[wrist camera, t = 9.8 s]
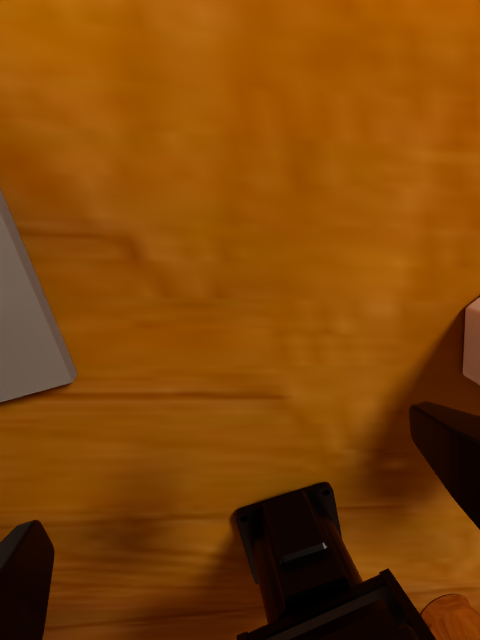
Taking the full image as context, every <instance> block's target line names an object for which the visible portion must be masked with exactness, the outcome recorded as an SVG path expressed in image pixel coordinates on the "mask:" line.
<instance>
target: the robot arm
mask: <svg viewBox="0 0 480 640" xmlns="http://www.w3.org/2000/svg"><path fill="white" fill-rule="evenodd" d="M409 420H410V432H411V436H412V439H413V441H414V443H415V444H416V446H417V447H418V449H419V450H420V452H421V453H422V455H423V456H424V457H425V459H426V460H427V462H428V463H429V465H430V466H431V467H432V469H433V470H434V472H435V473H436V475H437V476H438V478H439V479H440V480H441V482H442V483H443V485H444V486H445V488H446V489H447V490H448V492H449V493H450V494H451V496H452V497H453V498H454V500H455V501H456V502H457V503H458V505H459V506H460V507H461V508H462V509H463V510H464V512H465V513H466V514H467V515H468V516H469V518H470V519H471V520H472V521H473V522H474V523H475V525H476V526H477V527H478V528H479V529H480V417H479V416H476V415H473V414H469V413H466V412H462V411H459V410H455V409H452V408H449V407H445V406H442V405H438V404H435V403H431V402H428V401H423V402H419V403H416V404H413V405H411V406H410V407H409ZM324 490H326V491H324ZM323 491H324V492H323ZM242 516H245V517H242ZM235 517H236V522H237V525H238V528H239V532H240V535H241V538H242V541H243V545H244V548H245V551H246V555H247V558H248V561H249V564H250V568H251V571H252V574H253V578H254V581H255V583H256V584H259V586H260V590H261V595H262V599H263V604H264V608H265V613H266V617H267V622H268V624H267V625H265V626H262V627H260V628H258V629H256V630H253V631H251V632H249V633H248V632H247V631H246V632H244V633H241V634H239V635H237V640H436V638H435V637H434V635H433V633H432V632H431V630H430V629H429V627H428V626H427V624H426V623H425V621H424V620H423V618H422V617H421V616H420V614H419V613H418V611H417V610H416V608H415V607H414V605H413V604H412V602H411V601H410V599H409V598H408V596H407V595H406V593H405V592H404V591H403V589H402V588H401V586H400V585H399V583H398V582H397V580H396V579H395V577H394V576H393V574H392V573H391V571H390V570H389V569H386V570H383V571H381V572H379V575H377V576H375V577H373V578H370V579H368V580H366V581H364V582H363V581H362V579H361V577H360V575H359V573H358V571H357V569H356V567H355V565H354V563H353V561H352V559H351V557H350V555H349V553H348V551H347V549H346V547H345V545H344V543H343V540H342V536H341V531H340V525H339V520H338V514H337V509H336V503H335V498H334V493H333V489H332V487H331V485H330V484H329V483H327V482H322V483H319V484H316V485H313V486H310V487H307V488H303V489H300V490H297V491H294V492H291V493H288V494H285V495H281V496H278V497H275V498H272V499H269V500H266V501H263V502H259V503H256V504H253V505H250V506H247V507H244V508H241V509H239V510H238V511H237V512H236V514H235ZM53 563H54V547H53V544H52V542H51V540H50V538H49V537H48V535H47V533H46V531H45V529H44V527H43V525H42V524H41V522H40V521H38V520H33V521H29V522H26V523H23V524H20V525H18V526H17V527H15V528H14V529H13V530H12V531H11V532H10V533H9V534H8V535H7V536H6V537H5V538H4V539H3V540H2V541H1V542H0V640H42V637H43V633H44V627H45V621H46V614H47V606H48V599H49V592H50V585H51V577H52V570H53Z"/></svg>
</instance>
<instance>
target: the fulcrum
mask: <svg viewBox="0 0 480 640" xmlns="http://www.w3.org/2000/svg"><path fill="white" fill-rule="evenodd" d="M76 375H77V371H76V369H75V366H74V364H73V362H72V359H71V357H70V355H69V352H68V350H67V347H66V345H65V343H64V340H63V338H62V335H61V333H60V331H59V328H58V326H57V323H56V321H55V319H54V316H53V314H52V311H51V309H50V307H49V304H48V302H47V299H46V297H45V295H44V292H43V290H42V287H41V285H40V283H39V280H38V278H37V276H36V273H35V271H34V268H33V266H32V264H31V261H30V259H29V256H28V254H27V252H26V249H25V247H24V244H23V242H22V240H21V237H20V235H19V232H18V230H17V228H16V225H15V223H14V220H13V218H12V216H11V213H10V211H9V208H8V206H7V204H6V201H5V199H4V197H3V194H2V192H1V189H0V402H3V401H7V400H11V399H14V398H18V397H21V396H25V395H29V394H32V393H36V392H39V391H43V390H47V389H50V388H54V387H57V386H61V385H65V384H68V383H72V382H73V381H74V379H75V377H76Z"/></svg>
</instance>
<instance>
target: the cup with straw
mask: <svg viewBox="0 0 480 640" xmlns="http://www.w3.org/2000/svg"><path fill="white" fill-rule="evenodd" d="M421 617H422V618H423V620H424V621H425V623H426V624H427V626H428V627H429V629H430V630H431V632H432V633H433V635H434V637H435V638H436V640H480V613H479V612H478V611H476V610H475V609H474V608H472V607H471V606H470V603H469V601H468V600H467V598H465V597H464V596H462V595H458V594H451V595H446V596H443V597H440V598H438V599H436V600H435V601H433V602H432V603H430V604H429V605H428V606H427V607H426V608H425V609H424V611H423V612H422V614H421Z"/></svg>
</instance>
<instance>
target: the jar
mask: <svg viewBox="0 0 480 640" xmlns="http://www.w3.org/2000/svg"><path fill="white" fill-rule="evenodd" d="M463 375H464V376H465V377H467V378H468V379H470V380H472V381H473V382H475V383H477V384H478V385H480V297H479V298H477V299H476V300H475V301H474V302H472V303H471V304H470V305H469V306H467V307H466V310H465V331H464V353H463Z"/></svg>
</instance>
